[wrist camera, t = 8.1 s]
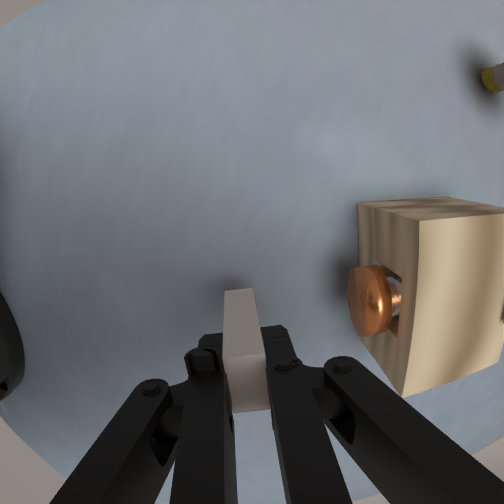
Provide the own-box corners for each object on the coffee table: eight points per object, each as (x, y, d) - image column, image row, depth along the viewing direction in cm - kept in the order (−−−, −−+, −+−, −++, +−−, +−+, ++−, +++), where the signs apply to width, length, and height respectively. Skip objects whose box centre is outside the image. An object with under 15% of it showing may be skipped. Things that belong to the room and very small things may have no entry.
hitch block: (357, 335, 23) (401, 398, 15) (357, 202, 21) (419, 220, 13) (441, 316, 23) (497, 362, 15) (448, 197, 21) (522, 212, 13)
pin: (347, 318, 20) (369, 349, 16) (347, 258, 19) (373, 280, 15) (492, 286, 20) (524, 304, 16) (497, 238, 19) (532, 250, 15)
